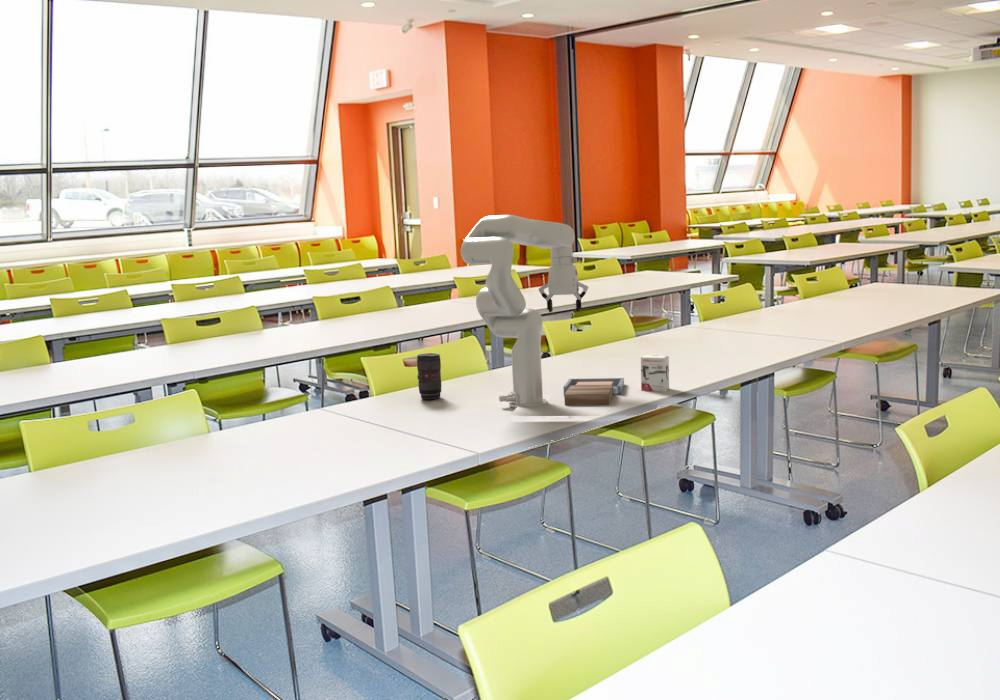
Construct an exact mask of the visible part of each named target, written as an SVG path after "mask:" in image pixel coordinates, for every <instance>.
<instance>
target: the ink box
mask: <svg viewBox="0 0 1000 700" xmlns="http://www.w3.org/2000/svg"><path fill="white" fill-rule="evenodd" d="M640 381H641V382H640V386H641V388H640V389H641V390H640V391H646V392H647V391H648V392H664V393H665V392H667V391H668V390H669V389H670V357H669V355H666V354H664V355H663V354H644V355H642V356H641V357H640Z"/></svg>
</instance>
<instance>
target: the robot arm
mask: <svg viewBox="0 0 1000 700" xmlns="http://www.w3.org/2000/svg"><path fill="white" fill-rule="evenodd" d="M575 235H576V234H575V231H574V229H573V228H572V227H571V226H570V225H569V224H565V223H561V222H556V221H555V222H554V221H546V220H545V221H544V220H539V219H530V218H528V217H527V218H526V217H521V216H518V215H513V214H497V215H495V214H494V215H487V216H483V217H482V218H481V219H480V220H479V221H477V223H476V224H475V225H474V226H473V228H472V229H471V231H470V232H469V233H468V234H467V235H466V237H465V238H464V239H463V241H462V243H461V248H460V255H461V259H462V261H463V262H464V263H465V264H467V265H469V266H488V265H489V266H491V267H490V270H489V272H488V274H487V276H486V279H485V286H484V287H483V288H481V289H480V290H479V291H478V293H477V295H476V297H475V304H476V309H477V312H478V314H479V315H480V317H481V319H482V320H483V322H484V323H485V325H486V326H487V327H488V329H489V331H490V332H491V333H492V334H493V335H494V336H496V337H499V338H510V339H511V338H514V339H516V341H515V343H514V345H513V346H512V347H511V348H512V349H511V353H510V354H511V356H510V357H511V367H512V368H511V371H512V373H511V374H512V391H510V393H508V395H504V394H503V395H499V397H498V401H499V403H500V402H505V403H507V402H508V406H509V407H510V408H514V409H517V408H518V407H536V406H542V405H546V404H548V400H547V399H545V398H544V396H543V378H542V377H543V376H542V375H543V374H542V353H541V349H542V348H541V344H542V343H541V341H542V332H543V321H544V320H543V316H542V315H541V313H540V312H539V311H538V310H536V309H533V308H530V307H529V308H527V306H526V305H527V303H526V302H527V301H526V299H525V296H524V294H523V293H522V291H521V290H520V288H519V287H518V285H517V283H516V281H515V280H514V278H513V276H512V275H513V274H512V266H513V265H512V264H513V260H514V246H513V244H517V245H520V246H521V245H522V246H528V247H529V246H531V247H532V246H533V247H536V248H538V249H540V250H541V249H543V250H546V249H547V250H548V249H549V250H550V266H549V268H548V277H547V278H548V279H547V280H548V281H547V282H548V283H545V284H544V285H542V286H540V287H538V291H539V293H540V295H541V296H542V298H543V299H545V301H546V308H547V310H548V313H552V312H553V309H554V308H553V300H552V298H553V296H561V295H562V296H565V295H566V296H567V295H568V296H569V295H570V296H571V295H573V296H574V297H575V298H576V299H575V306H576V307H575V309H576V312H580V311H581V309H582V298H584V296H585V295H586V294H587V291H588V290H589V286H588V285H586V284H584V283H582V282H580V281H579V277H578V275H579V274H578V270H577V266H576V265H575V264H574V263H577V262H578V258H577V257H574V255H573V254H574V252H573V244H574V242H575V240H576V239H575V238H576V236H575ZM547 288H548V289H547ZM580 288H581V289H582V291H581V293H579V289H580ZM546 289H547V290H548V294H547V293H546V292H545V290H546Z"/></svg>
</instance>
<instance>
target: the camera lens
mask: <svg viewBox="0 0 1000 700" xmlns="http://www.w3.org/2000/svg"><path fill="white" fill-rule="evenodd" d="M441 366H442V363H441V355H440V354H439V353H419V354H417V357H416V367H417V376H416V377H417V380H418V382H417V383H418V384H417V385H418V390H419V394H420V398H421V399H423V400H433V399H438V398H441V393H442V375H441V374H442V372H441V368H442V367H441Z"/></svg>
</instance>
